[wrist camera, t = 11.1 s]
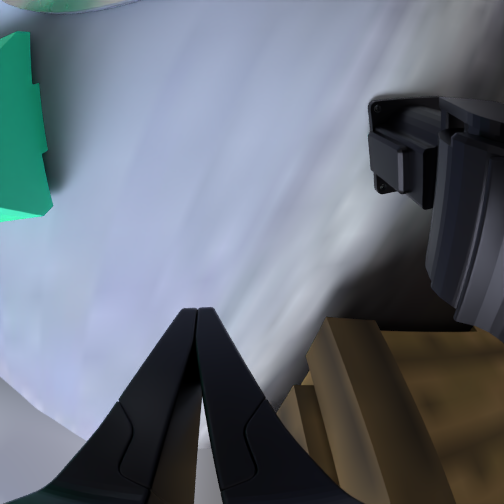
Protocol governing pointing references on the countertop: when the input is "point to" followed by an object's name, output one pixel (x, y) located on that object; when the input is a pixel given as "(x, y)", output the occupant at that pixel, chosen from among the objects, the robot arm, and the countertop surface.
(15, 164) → the camera mount
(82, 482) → the robot arm
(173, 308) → the countertop surface
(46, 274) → the countertop surface
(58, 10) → the plate
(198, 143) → the countertop surface
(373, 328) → the crate
